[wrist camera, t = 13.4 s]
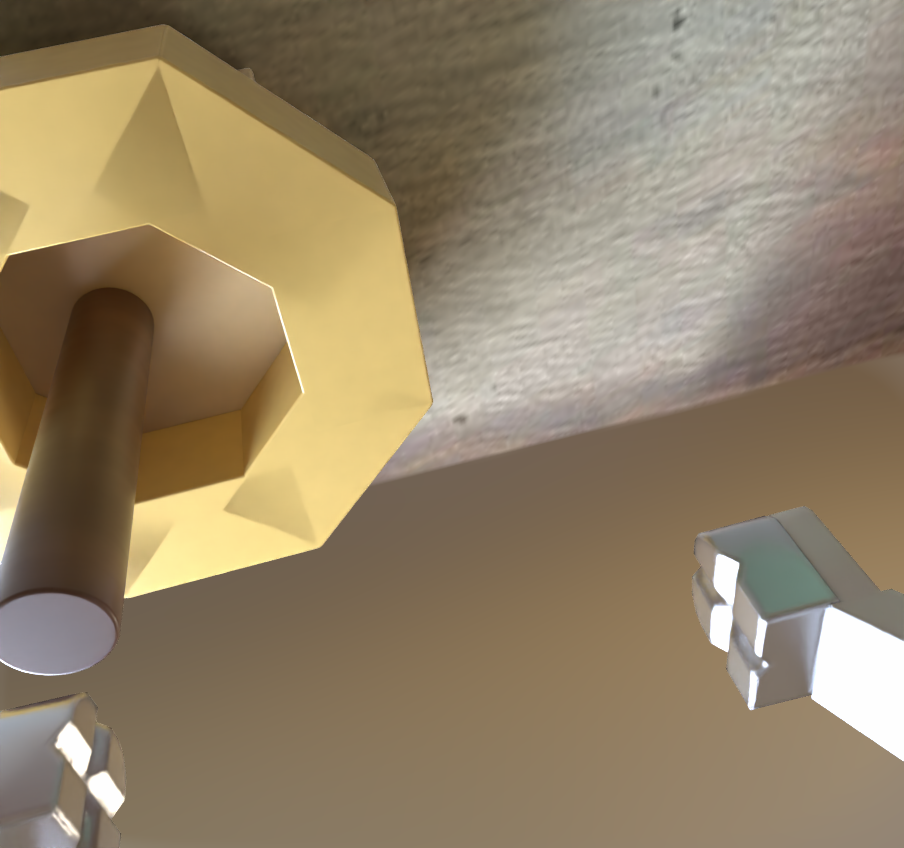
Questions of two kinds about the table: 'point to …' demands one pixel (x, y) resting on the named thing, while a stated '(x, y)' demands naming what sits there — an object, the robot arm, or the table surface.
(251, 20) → the table surface
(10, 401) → the brass ring
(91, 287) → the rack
